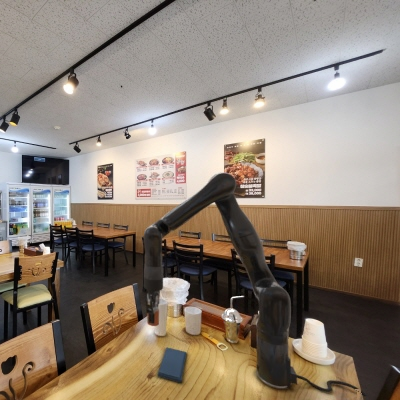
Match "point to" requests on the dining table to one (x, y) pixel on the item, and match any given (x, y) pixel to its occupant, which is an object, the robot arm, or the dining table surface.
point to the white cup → (193, 320)
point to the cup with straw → (232, 323)
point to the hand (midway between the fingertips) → (153, 319)
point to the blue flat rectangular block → (172, 365)
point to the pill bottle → (155, 317)
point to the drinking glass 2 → (162, 318)
